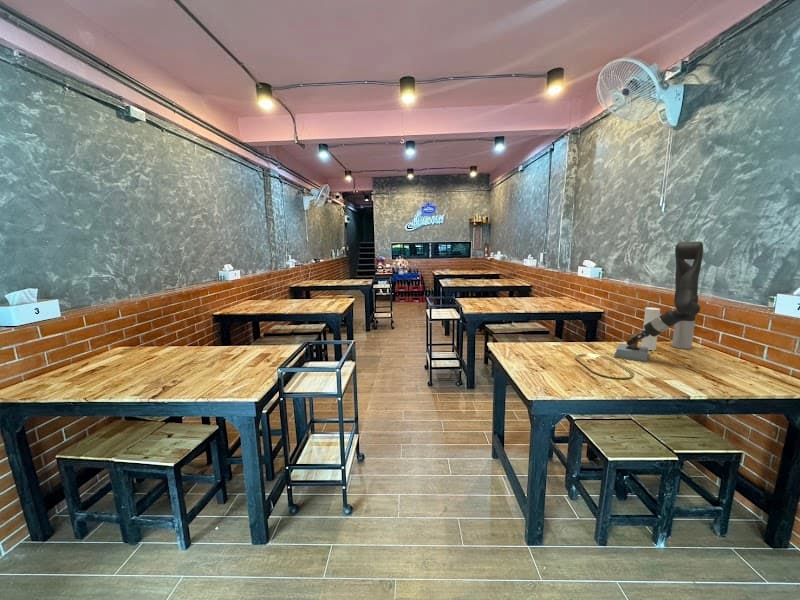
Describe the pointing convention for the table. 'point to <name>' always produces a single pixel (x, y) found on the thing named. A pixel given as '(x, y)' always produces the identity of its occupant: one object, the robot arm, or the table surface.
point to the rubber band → (609, 360)
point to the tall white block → (649, 316)
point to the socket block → (632, 353)
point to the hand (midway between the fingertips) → (629, 343)
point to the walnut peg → (634, 345)
